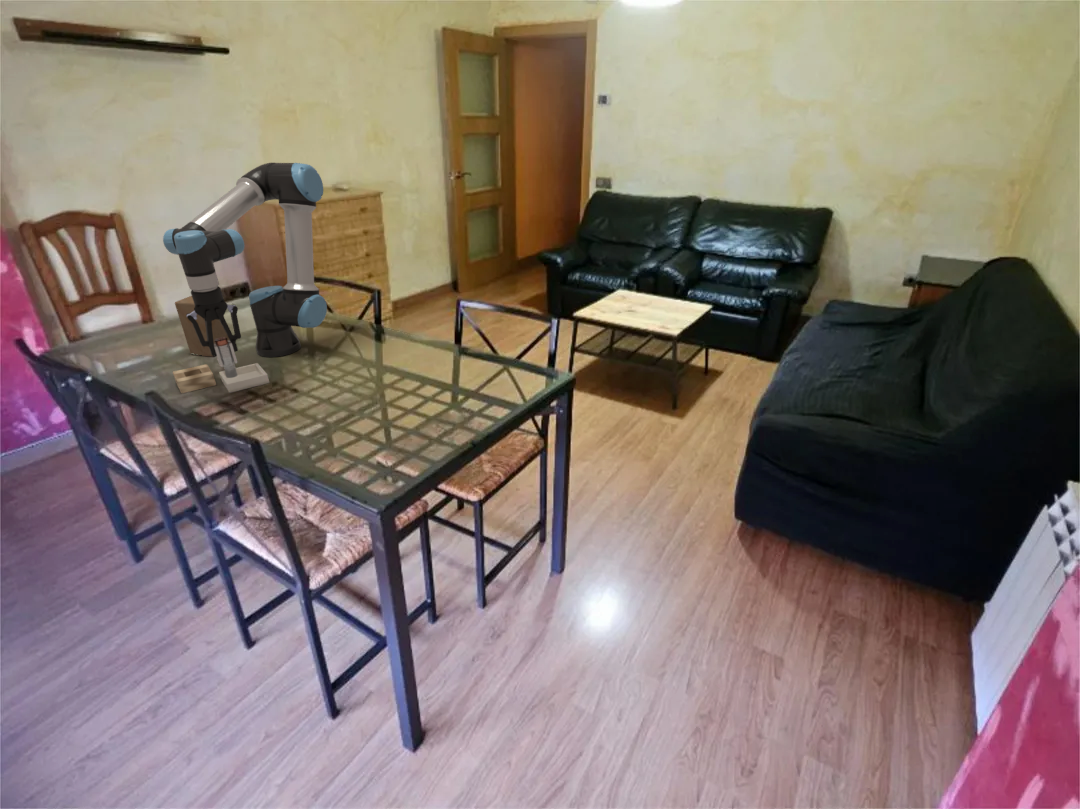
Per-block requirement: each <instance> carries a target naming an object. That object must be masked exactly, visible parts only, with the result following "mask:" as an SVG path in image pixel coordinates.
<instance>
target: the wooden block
mask: <svg viewBox="0 0 1080 809" xmlns="http://www.w3.org/2000/svg"><path fill="white" fill-rule="evenodd" d="M174 305H175V308H176V312H177V316H178V319H179V322H180V324H181V328H182V331H183V334H184V337H185V340H186V343H187V347H188V350H189V353H190V354H191V353H194V354H198V355H197V356H199V355H202V356H201V357H213V356H212V354H211V352H210V348H209V347H208V346H205V347H203V346H202V345H201V343H200V341H199V339H198V336H197V334H196V332H195V329H194V327H193V325H192V322H191V321H190V320H189V319H188V318H187V316H186V314H188V313H189V314H190V313H192V312H193V311H194V308H195V304H194V301H193V298H192V295H189V296H187V297H185V298H182V299H180V300H177V301H175V302H174ZM196 321H197V323H198V325H199V328H200V330H201V332H202V335H203V337H204V339H205V341H207V334H206V325H205V319H204V318H202V317H201V316H199V315H198V314H197V320H196ZM212 332H213V341H214V344H216V343H215V339H217V338H220V337H226V338H227V340H228V341H229V340H230V339H229V338H228V336H227V334H226V332H225V330H224V328H223V326H222V324H221V322H220V320H219V319H215V320H213V321H212ZM213 358H214V357H213Z"/></svg>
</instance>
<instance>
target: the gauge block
mask: <svg viewBox="0 0 1080 809" xmlns="http://www.w3.org/2000/svg"><path fill="white" fill-rule="evenodd" d="M172 374H173V377H174V380H175V381H174V382H175V383H176V385H177V387H178V390H179V392H180V394H185V393H186V394H187V393H190V392H193V391H198V390H202V389H205V388H206V389H207V388H210V387H214V386H217V382H216V379H215V376H214V373H213V372H212V370H211V369H210V367H209V365H208V364H207V363H206V364H200V365H197V366H192V367H188V368H182V369H179V370H178V369H177V370H174V371H172Z"/></svg>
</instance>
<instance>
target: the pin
mask: <svg viewBox="0 0 1080 809" xmlns="http://www.w3.org/2000/svg"><path fill="white" fill-rule="evenodd" d="M215 343H216V345H217V347H218V350H219V354H220V357H221V360H222V363H223V367H222V368H223V371H225V375H226V377H227V378H233V377H236V376H237V375H238V374H237V370H236V368H237V367H236V363H234V360H233V357H232V354H231V351H230V347H229V344H228V340H227V338H226V337H220V338H217V339H215Z"/></svg>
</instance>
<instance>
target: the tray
mask: <svg viewBox="0 0 1080 809" xmlns="http://www.w3.org/2000/svg"><path fill="white" fill-rule="evenodd" d="M236 370H237V374H238V375H237V376H236V377H233V378H227V377H226V375H225V371H224V370H222V371H219V372H218V374H219V378H220V381H221V383H222V384H223V386H224V387H225V388H226V391H228V393H229V394H231V393H232V394H233V393H235V392H239V391H242V390H246V389H251V388H255V387H258V386H263V385H267V384H270V380H269V374H268V373H267V372H266V371H265V370H264V369H263V367H262V366H260V364H259V363H258V362H256V363H253V364H252V363H250V364H247V365H243V366H239V367H236Z"/></svg>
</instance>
